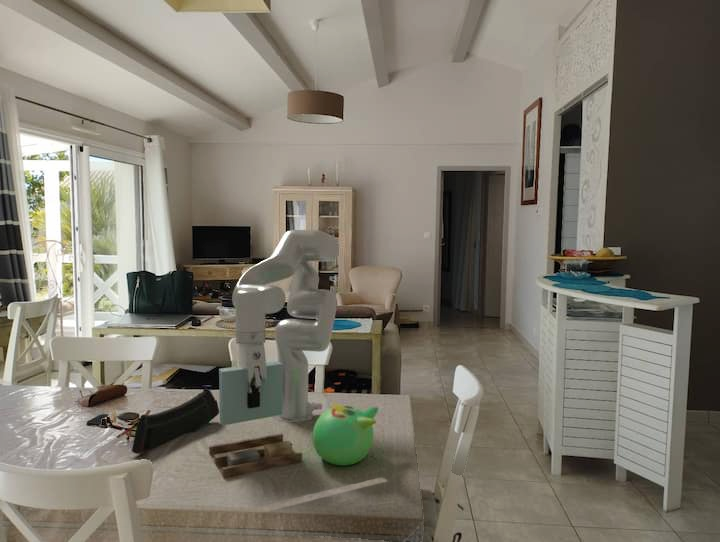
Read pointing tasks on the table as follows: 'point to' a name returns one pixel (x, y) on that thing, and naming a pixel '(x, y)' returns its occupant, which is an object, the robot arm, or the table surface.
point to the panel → (236, 391)
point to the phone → (97, 420)
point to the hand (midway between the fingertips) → (251, 404)
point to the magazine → (174, 422)
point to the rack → (220, 460)
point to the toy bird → (344, 434)
